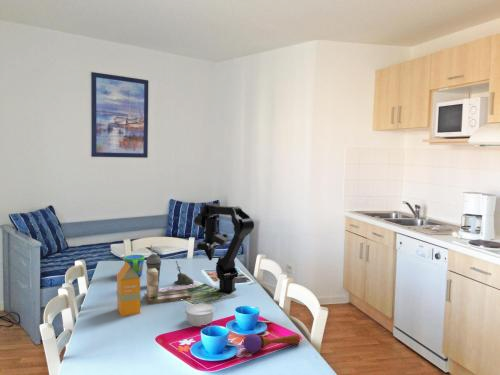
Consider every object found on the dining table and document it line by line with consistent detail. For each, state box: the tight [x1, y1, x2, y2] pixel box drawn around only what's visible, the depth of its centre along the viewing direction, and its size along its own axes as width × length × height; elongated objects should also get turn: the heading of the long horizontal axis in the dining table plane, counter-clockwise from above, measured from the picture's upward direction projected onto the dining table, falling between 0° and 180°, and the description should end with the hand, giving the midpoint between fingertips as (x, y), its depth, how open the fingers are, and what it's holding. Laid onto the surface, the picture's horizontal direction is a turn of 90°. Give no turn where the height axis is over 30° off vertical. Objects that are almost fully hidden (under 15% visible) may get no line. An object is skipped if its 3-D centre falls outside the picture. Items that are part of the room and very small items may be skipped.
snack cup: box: [123, 254, 146, 277], centre depth 224 cm, size 16×10×10 cm
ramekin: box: [185, 303, 215, 327], centre depth 165 cm, size 11×11×5 cm
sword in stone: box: [174, 260, 195, 286], centre depth 213 cm, size 10×8×12 cm
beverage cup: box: [145, 244, 162, 287], centre depth 208 cm, size 7×7×20 cm
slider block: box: [146, 268, 159, 299], centre depth 187 cm, size 4×8×11 cm, turn 23°
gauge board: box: [143, 288, 192, 305], centre depth 191 cm, size 19×10×2 cm, turn 113°
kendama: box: [243, 333, 301, 353], centre depth 144 cm, size 6×6×20 cm
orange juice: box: [116, 261, 141, 317], centre depth 174 cm, size 8×9×20 cm
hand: (210, 260), depth 211 cm, fingers closed
